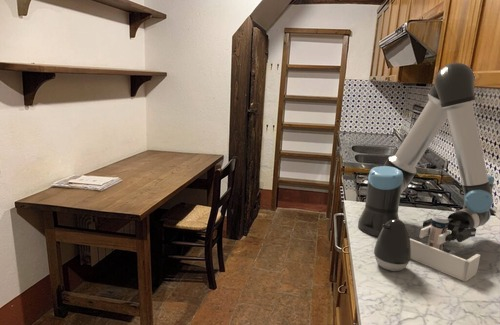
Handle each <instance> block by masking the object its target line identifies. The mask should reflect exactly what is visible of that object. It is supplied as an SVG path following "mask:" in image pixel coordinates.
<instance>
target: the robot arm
mask: <svg viewBox="0 0 500 325" xmlns="http://www.w3.org/2000/svg"><path fill="white" fill-rule="evenodd" d="M472 70H473V69H472V68H471V67H470V66H468V64H465V63H462V62H452V63H448V64H446V65H444V66H443V67H441V68H440V69H439V71H438V72H437V73H436V76H435V78H434V83H433V85H432V87H431V88H430V90H429V92H428V93H427V97H428V101H427V103H426V105H425V106H424V108H423V109H422V111H421V113H420V114H419V116H418V117H417V119H416V120H415V122H414V124H413V126H412V127H411V129H410V130H409V132H408V134H407V135H406V136H405V138H404V140H403V141H402V143H401V144H400V146H399V147H398V149H397V151H396V152H395V153H394V155H390V156H388V158H387V159H386V161H385V163H384V164H383V165H380V166H375V167H371V169H370V170H369V174H368V177H367V186H366V187H367V188H366V189H367V190H366V198H365V206H364V209H363V210H362V213H361V215H360V217H359V219H358V221H357V228H358V229H359V230H360V231H361V232H363V233H365V234H367V235H370V236H373V237H378V236H379V234H380V232H381V230H382V228H383V227H382V224H386V223H387V222H388V221H389V220H391V219H399V220H400V218H399V217H400V216H399V207H400V200H401V195H402V194H403V193H404V191H405V190H407V188H408V187H409V185H410V183H411V181H412V180H413V178H414V177H415V175H416V174H417V172H418V171H417V167H416V166H417V165H418V163H419V162H420V160H421V159H422V158H423V155H425V152H426V151H427V149H428V148H429V146H430V145H431V144H432V142H433V141H434V139H435V137H436V136H437V134H438V133H439V131H440V130H441V129H442V127H443V125H444V124H445V123H446V120H447V121H448V127H449V130H450V136H451V141H452V145H453V150H454V154H455V157H456V162H457V167H458V171H459V176H460V177H459V178H460V181H461V185H462V190H463V195H464V196H463V197H464V198H463V200H464V201H463V208H462V209H460V210H459V209H458V210H456V211H455V212H452V213H451V214H449V215H448V216H446V217H447V218H448V221H449V224H448V230H447V232H445V233H443V234H441V235H439V236H438V241H437V244H438V245H440V244H442V243H444V242H445V243H446V242H452V241H455V240H456V242H458V243H462V242H464V241H466V240H467V239H470V238H472V237H475V236H476V233H477V228H479V227H482V226H483V225H485V224H487V222H489V220H490V219H491V216H492V214H491V211H490V210H491V208H492V206H493V203H494V199H493V188H494V182H495V178H494V176H492V175H491V174H488V172H487V166H486V162H485V157H484V153H483V149H482V148H483V147H482V144H481V142H482V141H481V138H480V133H479V129H478V128H479V127H478V124H477V120H476V114H475V110H474V103H476V97H475V87H474V81H475V76H476V75H475V76H474V73H475V72H474V70H473V71H472ZM473 72H474V73H473ZM431 221H432V217H431V218H428V219H426V220H424V221H423V223H422V228H421V229H420V231H419V236H418V237H419V238H420V239H423V238H424V237H427V236H428V237H429V233H430V227H431Z"/></svg>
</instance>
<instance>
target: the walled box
mask: <svg viewBox="0 0 500 325" xmlns="http://www.w3.org/2000/svg"><path fill="white" fill-rule="evenodd" d="M409 238H410V237H409ZM410 244H411V258H410V260H412V261H413V260H414V261H416V262H418V263H419V264H423V265H425V266H427V267H430V268H432V269H434V270H437V271H439V272H440V273H441V272H442V273H444V274H447V275H449V276H451V277H454V278H455V279H458V280H460V281H462V282H467V281H469V279H471V278H473V277H474V276H476V275H477V274H478V269H479V265H480V259H481V254H479V253H476V254H474V255H472V256H470V257H469V258H467V259H465V258H462V257H460V256H457V255H455V250H451V249H449V248H448V247H447V248H446V247H444V251H442V250H439V249H437V248H434V247H431V246H429V245H427V244H428V241H427V242H425V243H423V242H421V241H418V240H415V239H413V238H410Z"/></svg>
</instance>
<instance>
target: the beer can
mask: <svg viewBox="0 0 500 325" xmlns="http://www.w3.org/2000/svg"><path fill="white" fill-rule="evenodd" d="M447 217H448V216H446V215H443V214H434V215H433V216H432V217H431V218H432V221H431V227H430V233H429V235H428V238H427V239H428V240H427V242H428V244H427V245H429V246H431V247H434V248H437V249H439V250H442V251H444V248H445V247H446V246H445V245H446V242H444V243H442V244H440V245H438V244H437V241H438V236H439V235H441V234H443V233H445V232H447V231H449V230H448V224H449V221H448V218H447Z"/></svg>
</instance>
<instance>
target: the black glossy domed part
mask: <svg viewBox="0 0 500 325" xmlns="http://www.w3.org/2000/svg"><path fill="white" fill-rule="evenodd" d="M382 227H383V228H382V230H381V232H380V234H379V236H377V239H376V240H375V241H376V242H375V244H374V245H375V246H374V249H373V254H374V258H375V261H376V262H377V264H378V265H379V266H380V267H381V268H383V269H384V270H387V271H392V272H398V271H402V270H404V269H405V268H406V267H408V264H409V263H410V261H411V244H410V234H409V230H408V228H407V225H406V224H405V222H404V221H403V220H401V219H400V218H399V219H391V220H389V221H388V222H387V223H386V224H382Z"/></svg>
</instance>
